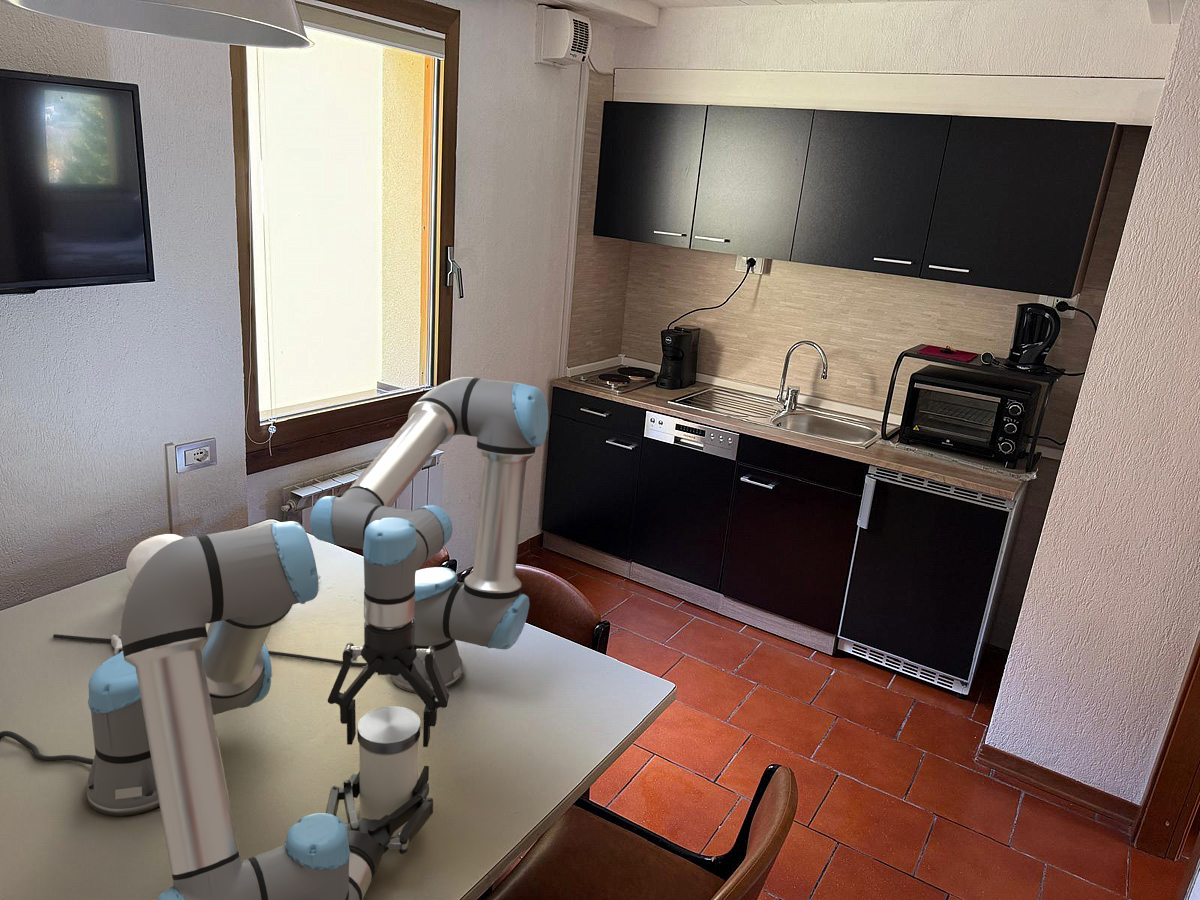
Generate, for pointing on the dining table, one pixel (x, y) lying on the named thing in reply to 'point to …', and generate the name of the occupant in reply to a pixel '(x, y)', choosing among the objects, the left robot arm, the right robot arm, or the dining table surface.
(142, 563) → the skull
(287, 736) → the dining table surface
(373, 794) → the jar
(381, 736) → the lid
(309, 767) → the dining table surface
